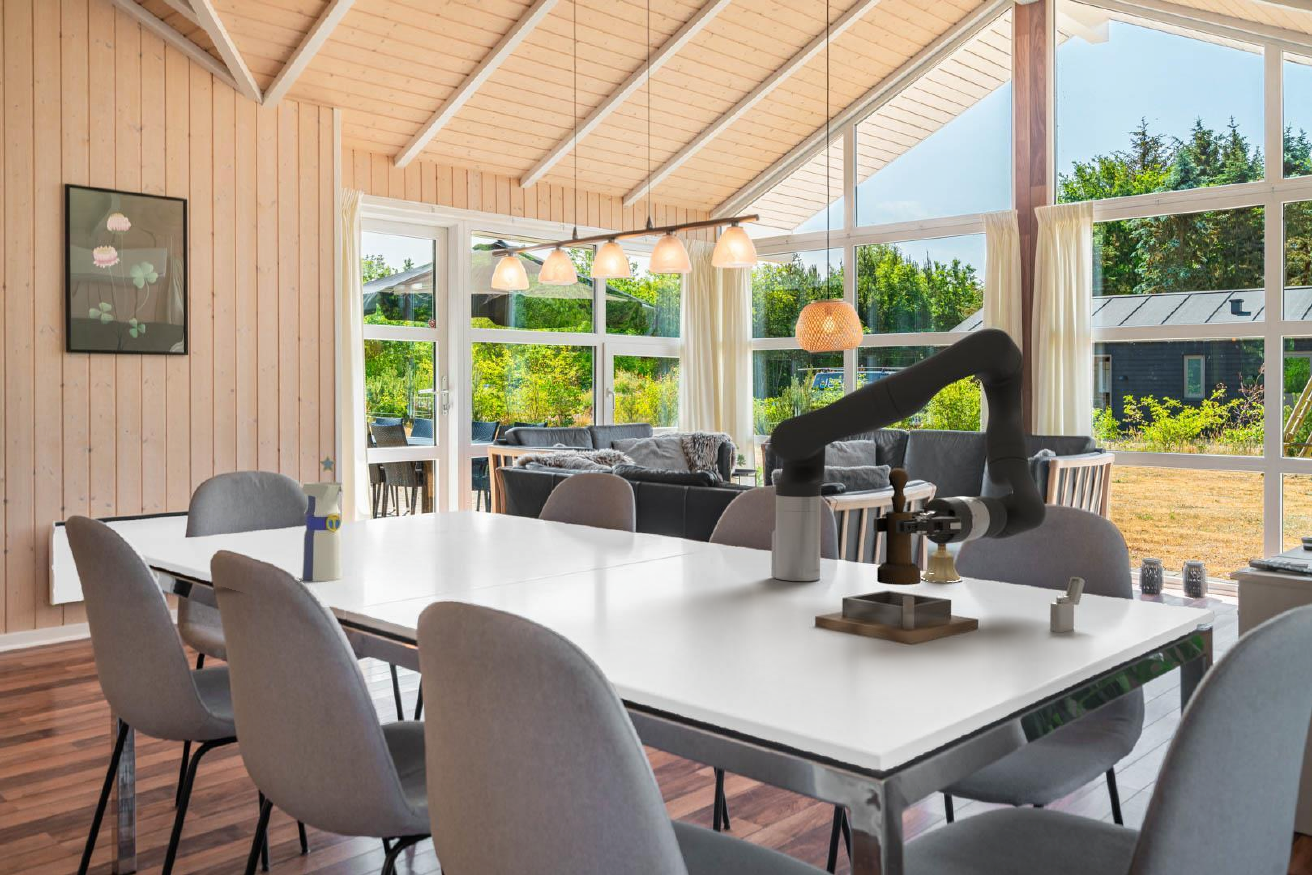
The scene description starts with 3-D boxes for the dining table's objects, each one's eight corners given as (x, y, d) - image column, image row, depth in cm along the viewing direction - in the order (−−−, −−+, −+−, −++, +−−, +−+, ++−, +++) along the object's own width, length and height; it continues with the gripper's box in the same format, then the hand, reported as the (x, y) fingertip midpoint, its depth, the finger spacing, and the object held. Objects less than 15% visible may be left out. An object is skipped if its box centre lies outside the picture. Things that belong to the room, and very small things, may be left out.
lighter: (1059, 632, 161) (1060, 580, 161) (1049, 630, 163) (1050, 579, 163) (1084, 627, 166) (1085, 577, 166) (1074, 625, 167) (1074, 575, 167)
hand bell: (961, 584, 210) (962, 505, 210) (919, 581, 213) (920, 503, 213) (963, 578, 218) (964, 502, 218) (922, 576, 221) (923, 501, 221)
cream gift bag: (354, 577, 212) (354, 454, 212) (320, 582, 205) (320, 455, 205) (326, 574, 217) (327, 454, 216) (292, 579, 210) (293, 454, 209)
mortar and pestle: (917, 579, 167) (917, 467, 167) (923, 585, 161) (923, 469, 160) (875, 579, 168) (874, 467, 168) (879, 585, 161) (879, 469, 161)
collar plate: (815, 625, 165) (815, 584, 165) (883, 612, 177) (883, 574, 177) (911, 644, 152) (912, 599, 152) (978, 628, 164) (978, 587, 164)
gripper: (920, 494, 178) (852, 499, 168) (992, 499, 167) (923, 505, 157) (920, 538, 178) (852, 546, 168) (992, 546, 167) (923, 554, 157)
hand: (886, 526), depth 162 cm, fingers closed on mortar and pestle, 4 cm apart
